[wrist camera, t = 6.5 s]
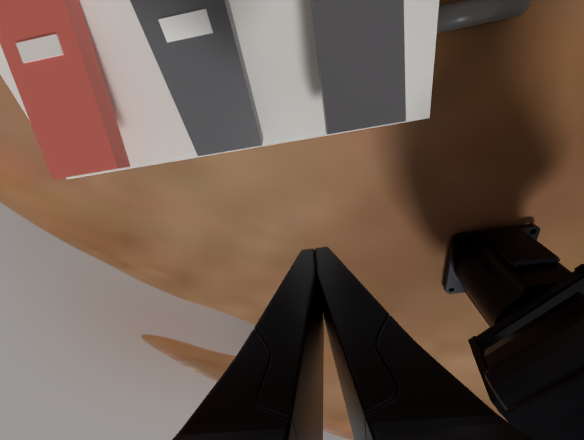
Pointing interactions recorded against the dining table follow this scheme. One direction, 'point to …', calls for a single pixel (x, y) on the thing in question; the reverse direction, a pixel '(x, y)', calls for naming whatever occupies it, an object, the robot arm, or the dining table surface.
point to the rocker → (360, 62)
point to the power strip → (255, 69)
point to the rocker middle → (203, 71)
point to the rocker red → (61, 86)
